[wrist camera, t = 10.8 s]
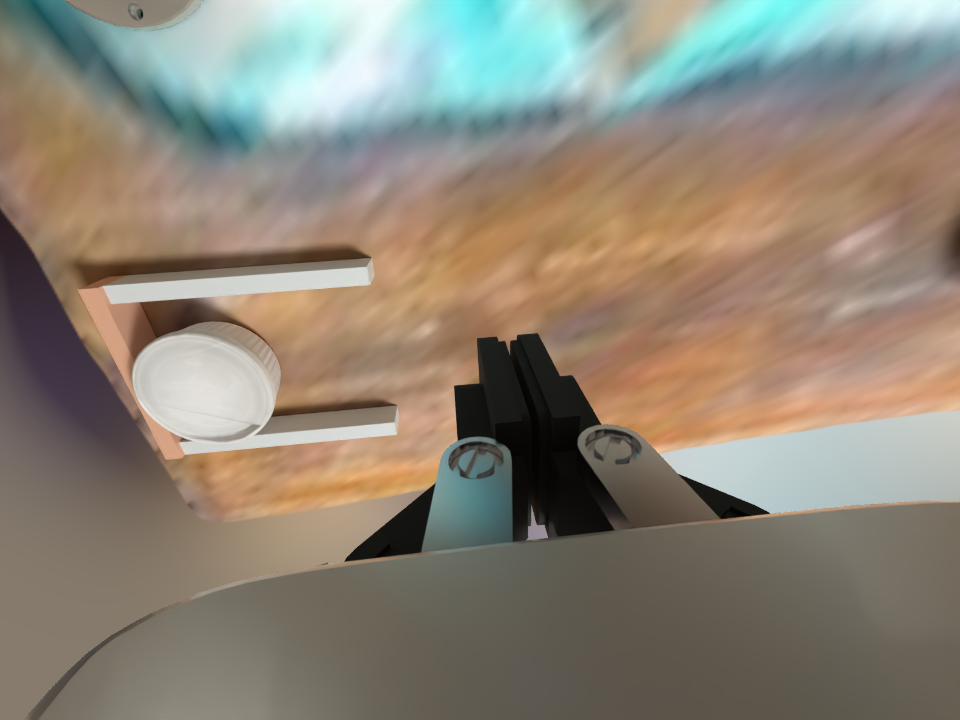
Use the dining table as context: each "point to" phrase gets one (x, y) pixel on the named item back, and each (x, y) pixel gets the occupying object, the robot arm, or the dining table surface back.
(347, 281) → the bay
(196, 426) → the ramekin
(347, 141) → the dining table surface
